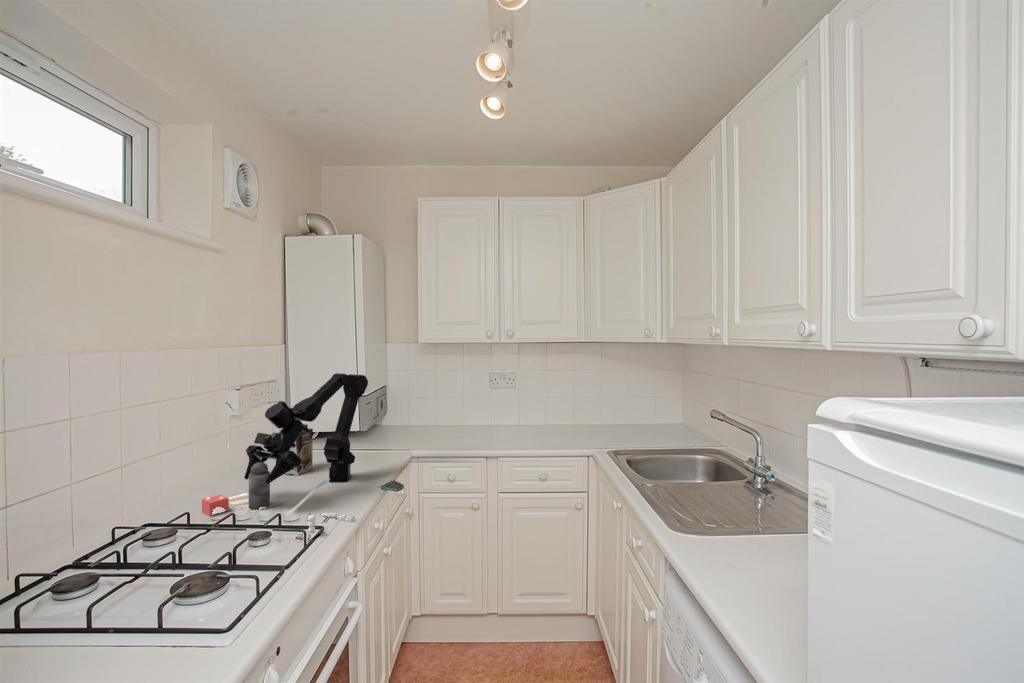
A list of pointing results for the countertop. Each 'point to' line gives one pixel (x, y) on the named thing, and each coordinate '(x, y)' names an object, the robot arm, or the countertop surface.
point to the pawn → (259, 486)
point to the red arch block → (214, 504)
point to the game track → (245, 501)
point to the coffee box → (303, 452)
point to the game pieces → (388, 486)
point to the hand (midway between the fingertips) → (255, 480)
